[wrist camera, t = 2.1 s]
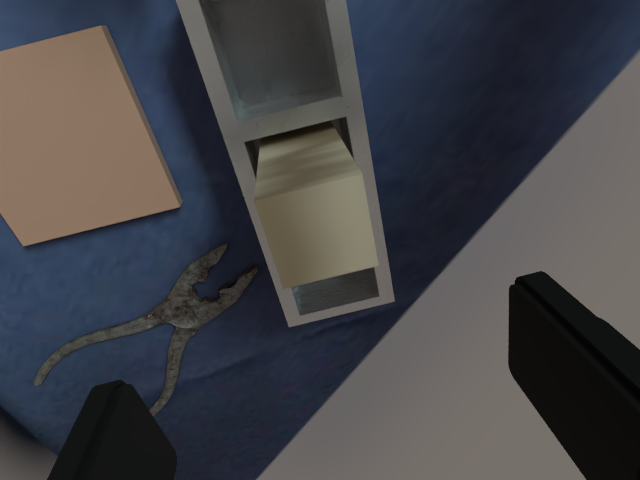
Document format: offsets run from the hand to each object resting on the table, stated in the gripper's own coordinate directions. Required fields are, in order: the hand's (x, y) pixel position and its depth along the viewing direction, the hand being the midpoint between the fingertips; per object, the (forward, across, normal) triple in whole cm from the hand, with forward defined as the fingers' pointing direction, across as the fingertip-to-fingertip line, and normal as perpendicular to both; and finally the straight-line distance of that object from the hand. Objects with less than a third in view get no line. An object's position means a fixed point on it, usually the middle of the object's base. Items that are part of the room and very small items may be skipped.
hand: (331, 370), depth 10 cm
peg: (+16, -1, 0) cm, 16 cm away
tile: (+17, +12, -4) cm, 21 cm away
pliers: (+18, +14, +9) cm, 25 cm away
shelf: (+17, -1, 0) cm, 17 cm away
